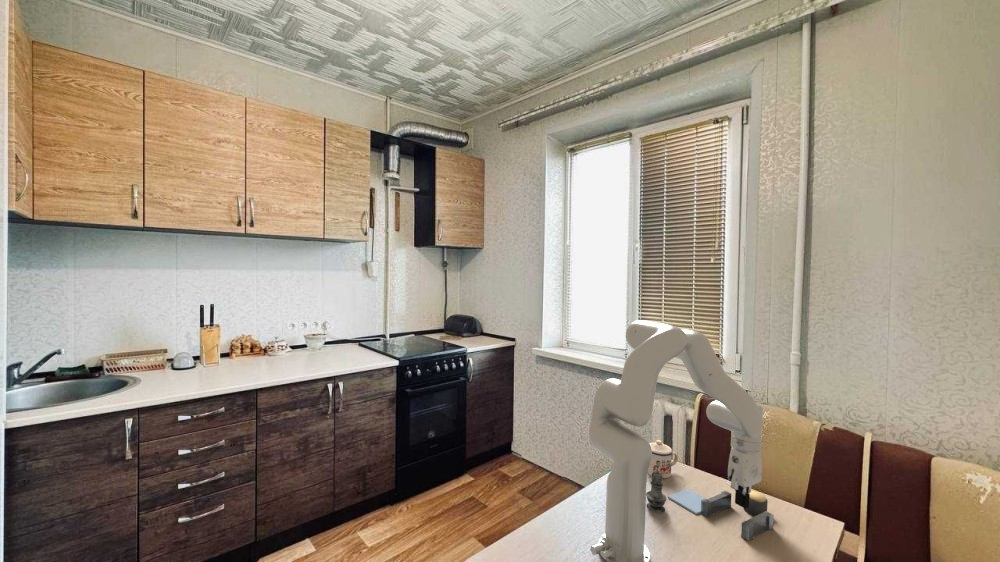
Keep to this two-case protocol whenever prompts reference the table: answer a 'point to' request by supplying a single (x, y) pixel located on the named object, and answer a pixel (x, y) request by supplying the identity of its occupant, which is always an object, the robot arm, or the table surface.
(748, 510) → the grey and yellow cylinder
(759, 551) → the table surface
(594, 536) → the table surface
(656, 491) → the dark grey turned post
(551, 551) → the table surface
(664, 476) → the teacup with lid
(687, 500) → the mat
